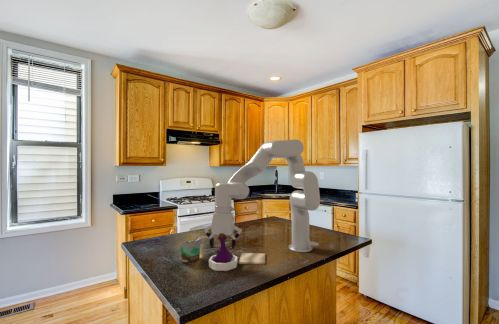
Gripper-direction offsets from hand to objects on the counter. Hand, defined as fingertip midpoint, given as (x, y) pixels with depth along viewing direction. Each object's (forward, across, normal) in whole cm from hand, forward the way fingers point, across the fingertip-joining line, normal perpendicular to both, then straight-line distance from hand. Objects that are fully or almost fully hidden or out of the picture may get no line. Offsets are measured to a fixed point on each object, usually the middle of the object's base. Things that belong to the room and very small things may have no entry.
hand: (222, 247), depth 117 cm
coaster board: (+8, -13, -8) cm, 18 cm away
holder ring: (+8, 0, 0) cm, 8 cm away
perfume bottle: (+8, 0, 0) cm, 8 cm away
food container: (+8, +15, -4) cm, 17 cm away
